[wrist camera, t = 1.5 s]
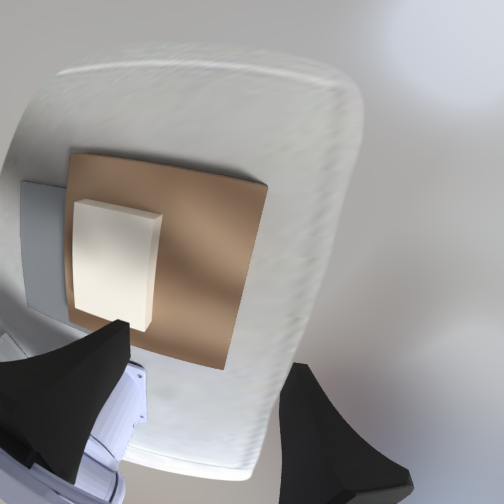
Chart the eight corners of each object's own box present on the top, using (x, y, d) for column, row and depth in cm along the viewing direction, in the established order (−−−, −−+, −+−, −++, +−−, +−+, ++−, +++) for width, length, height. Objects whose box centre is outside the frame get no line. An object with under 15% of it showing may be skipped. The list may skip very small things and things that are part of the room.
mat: (107, 338, 23) (106, 340, 22) (30, 304, 22) (27, 306, 22) (111, 196, 19) (108, 197, 18) (24, 181, 18) (21, 181, 18)
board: (226, 354, 22) (223, 370, 20) (80, 311, 22) (69, 321, 20) (267, 185, 18) (268, 187, 16) (85, 153, 18) (70, 153, 16)
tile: (151, 321, 19) (144, 331, 18) (84, 299, 19) (75, 307, 18) (162, 214, 17) (154, 219, 15) (86, 198, 17) (74, 202, 15)
